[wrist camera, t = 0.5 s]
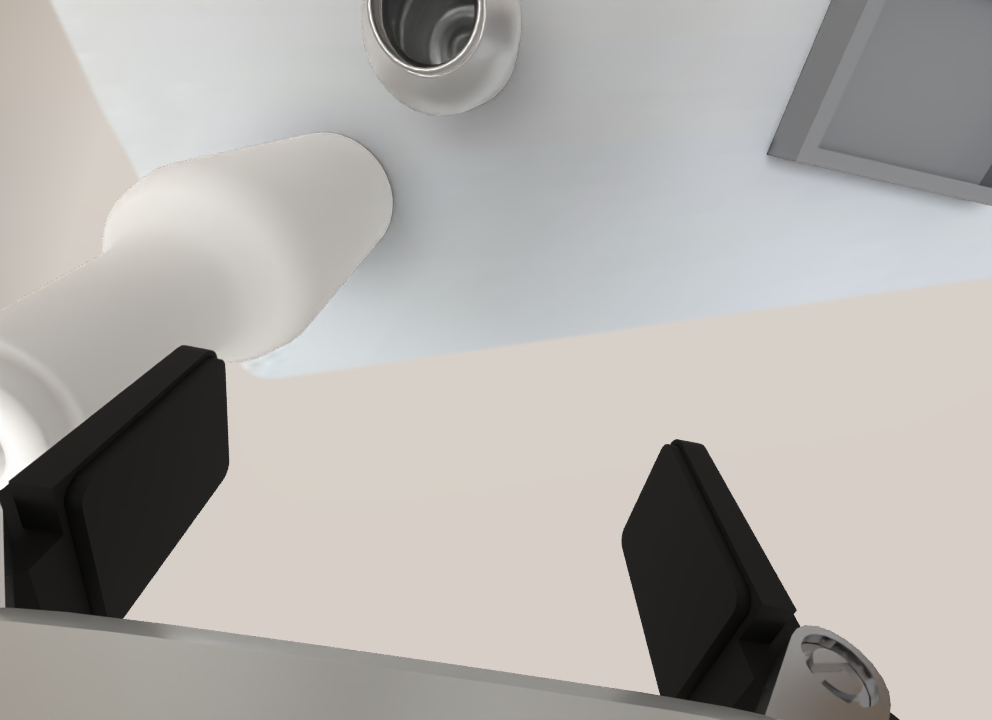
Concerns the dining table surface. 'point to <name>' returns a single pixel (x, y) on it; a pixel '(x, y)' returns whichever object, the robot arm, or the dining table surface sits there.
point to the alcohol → (189, 278)
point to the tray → (898, 96)
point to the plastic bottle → (442, 50)
